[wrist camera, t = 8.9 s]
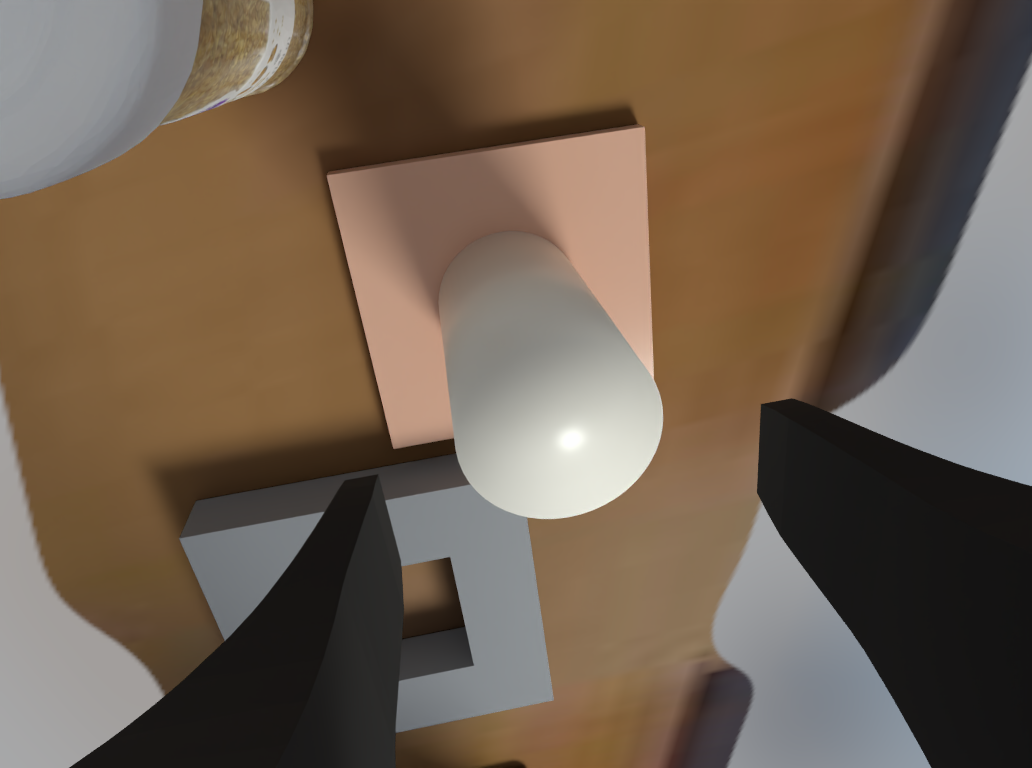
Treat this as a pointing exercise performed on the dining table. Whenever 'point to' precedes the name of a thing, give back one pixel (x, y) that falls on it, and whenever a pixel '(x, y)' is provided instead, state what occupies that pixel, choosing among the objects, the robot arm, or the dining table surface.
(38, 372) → the dining table surface
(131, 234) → the dining table surface
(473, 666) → the grey square frame
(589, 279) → the tile
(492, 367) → the plug
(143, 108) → the sprinkles bottle
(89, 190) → the dining table surface
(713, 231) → the dining table surface
